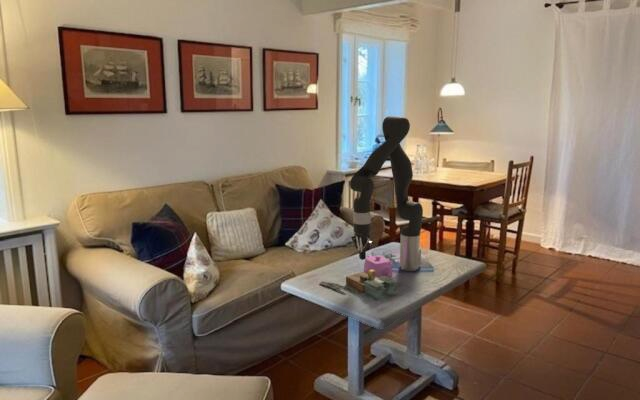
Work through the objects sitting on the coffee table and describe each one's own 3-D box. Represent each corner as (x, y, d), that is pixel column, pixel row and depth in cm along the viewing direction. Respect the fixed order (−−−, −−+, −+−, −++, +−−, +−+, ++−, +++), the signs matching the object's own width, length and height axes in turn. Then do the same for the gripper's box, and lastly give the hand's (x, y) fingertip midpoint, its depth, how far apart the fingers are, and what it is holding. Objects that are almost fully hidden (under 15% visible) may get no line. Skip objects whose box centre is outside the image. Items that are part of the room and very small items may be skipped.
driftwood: (317, 285, 221) (317, 280, 221) (328, 281, 226) (328, 276, 225) (349, 299, 206) (349, 294, 206) (360, 294, 211) (360, 290, 210)
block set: (365, 279, 226) (365, 267, 224) (396, 294, 209) (396, 281, 207) (346, 284, 220) (346, 272, 218) (376, 300, 203) (376, 287, 201)
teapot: (398, 281, 223) (398, 260, 220) (378, 285, 218) (378, 264, 216) (377, 269, 239) (378, 249, 236) (359, 272, 234) (359, 252, 232)
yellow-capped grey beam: (372, 279, 214) (372, 269, 213) (384, 285, 207) (385, 274, 206) (368, 280, 213) (368, 270, 212) (380, 286, 206) (380, 276, 205)
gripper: (378, 223, 209) (378, 261, 213) (359, 216, 220) (359, 253, 224) (364, 226, 205) (365, 265, 209) (345, 219, 216) (346, 256, 220)
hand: (362, 258), depth 216 cm, fingers closed
